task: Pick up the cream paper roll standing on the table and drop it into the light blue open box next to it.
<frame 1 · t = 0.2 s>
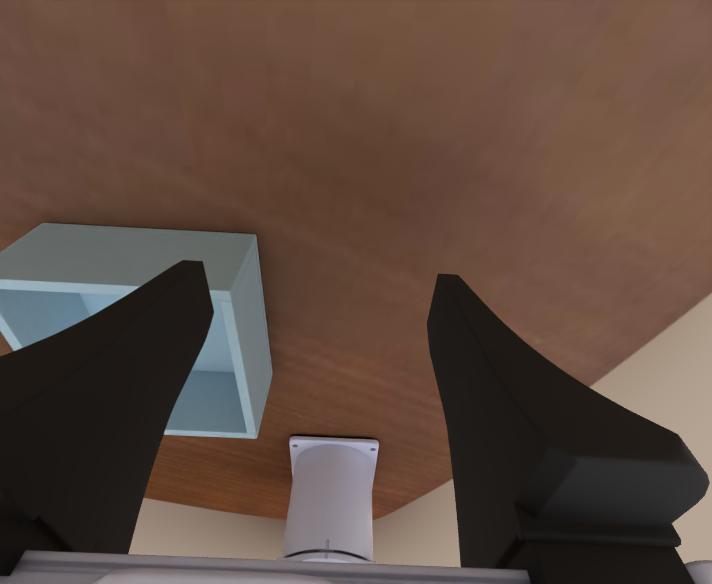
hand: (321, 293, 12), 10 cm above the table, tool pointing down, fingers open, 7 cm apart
light blue open box: (174, 309, 26), on the table
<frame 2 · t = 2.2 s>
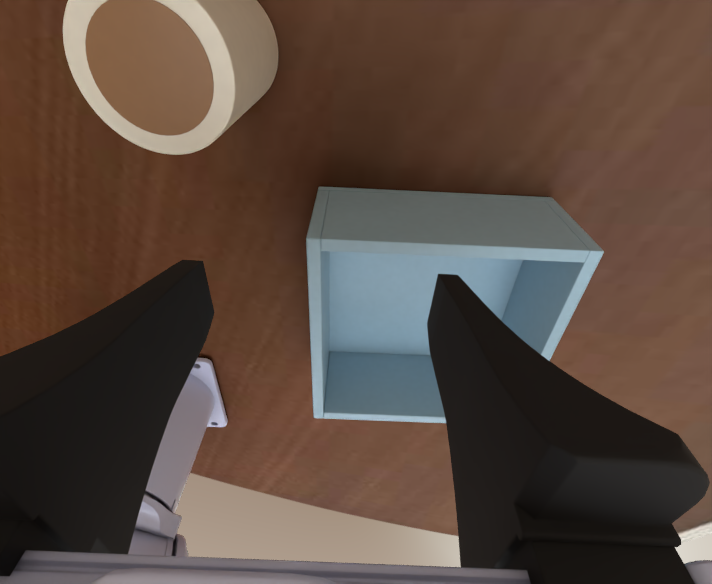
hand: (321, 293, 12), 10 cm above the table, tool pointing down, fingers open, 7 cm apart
paper roll: (224, 47, 16), on the table
light blue open box: (419, 285, 24), on the table
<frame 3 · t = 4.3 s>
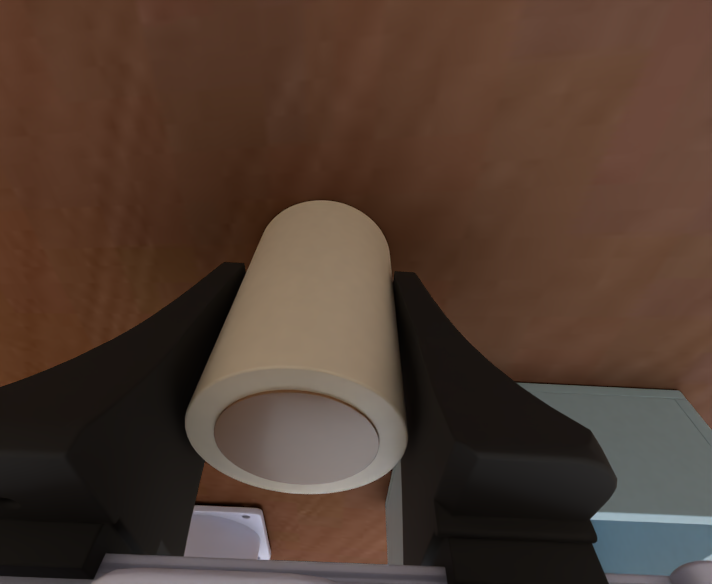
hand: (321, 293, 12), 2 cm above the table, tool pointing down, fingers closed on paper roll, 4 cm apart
paper roll: (324, 260, 14), on the table, touching gripper
light blue open box: (507, 456, 21), on the table
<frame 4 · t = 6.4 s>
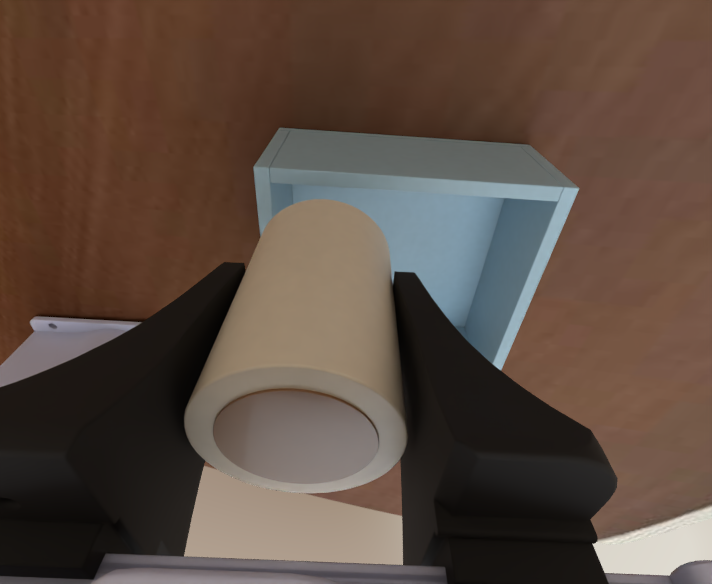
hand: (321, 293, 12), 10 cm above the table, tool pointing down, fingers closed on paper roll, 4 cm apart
paper roll: (324, 259, 14), point 8 cm above the table, touching gripper
light blue open box: (390, 245, 22), on the table
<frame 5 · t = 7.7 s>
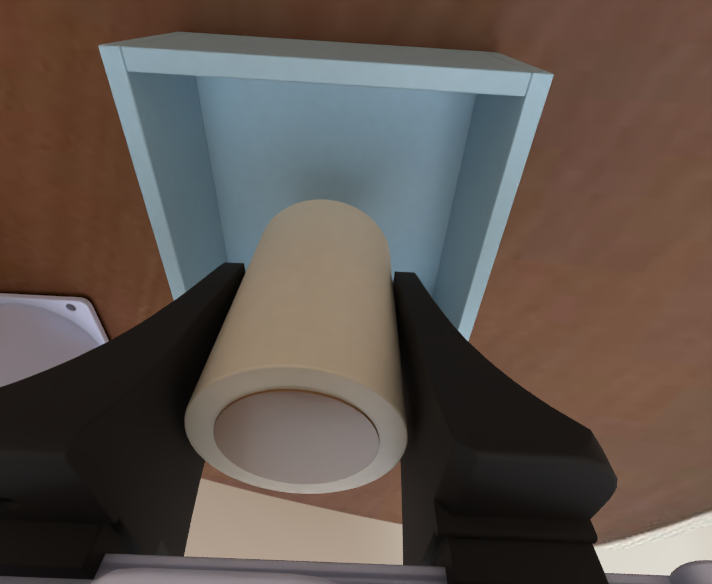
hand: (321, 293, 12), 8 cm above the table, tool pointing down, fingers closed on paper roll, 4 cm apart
paper roll: (324, 260, 14), point 6 cm above the table, touching gripper
light blue open box: (335, 194, 18), on the table
when the fingers open (6 cm above the table, at t = 8.7 s): paper roll drops 3 cm, resting on light blue open box.
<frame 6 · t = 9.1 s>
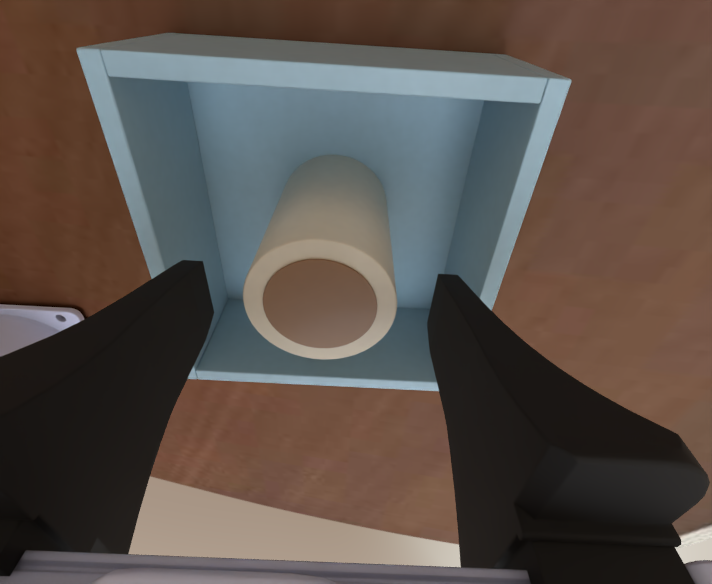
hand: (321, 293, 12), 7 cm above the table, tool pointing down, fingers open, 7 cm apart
paper roll: (334, 206, 17), resting on light blue open box
light blue open box: (335, 202, 17), on the table
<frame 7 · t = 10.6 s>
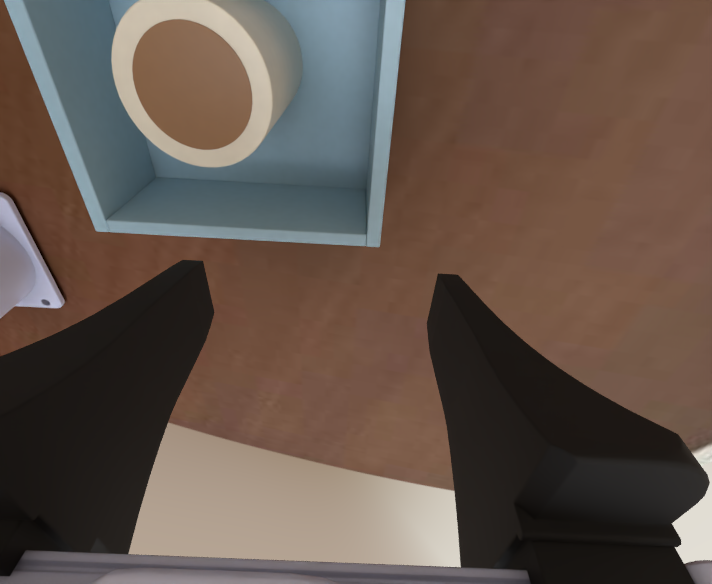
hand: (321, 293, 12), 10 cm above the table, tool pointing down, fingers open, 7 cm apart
paper roll: (250, 60, 17), resting on light blue open box
light blue open box: (252, 60, 17), on the table
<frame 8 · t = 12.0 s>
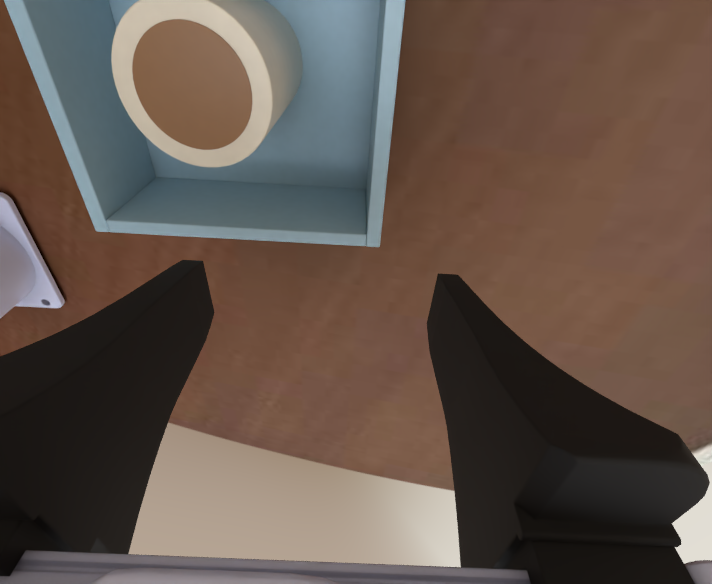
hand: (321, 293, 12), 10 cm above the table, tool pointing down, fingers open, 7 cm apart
paper roll: (250, 60, 17), resting on light blue open box
light blue open box: (252, 60, 17), on the table
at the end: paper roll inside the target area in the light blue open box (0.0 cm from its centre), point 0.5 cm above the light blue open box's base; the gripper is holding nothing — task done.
